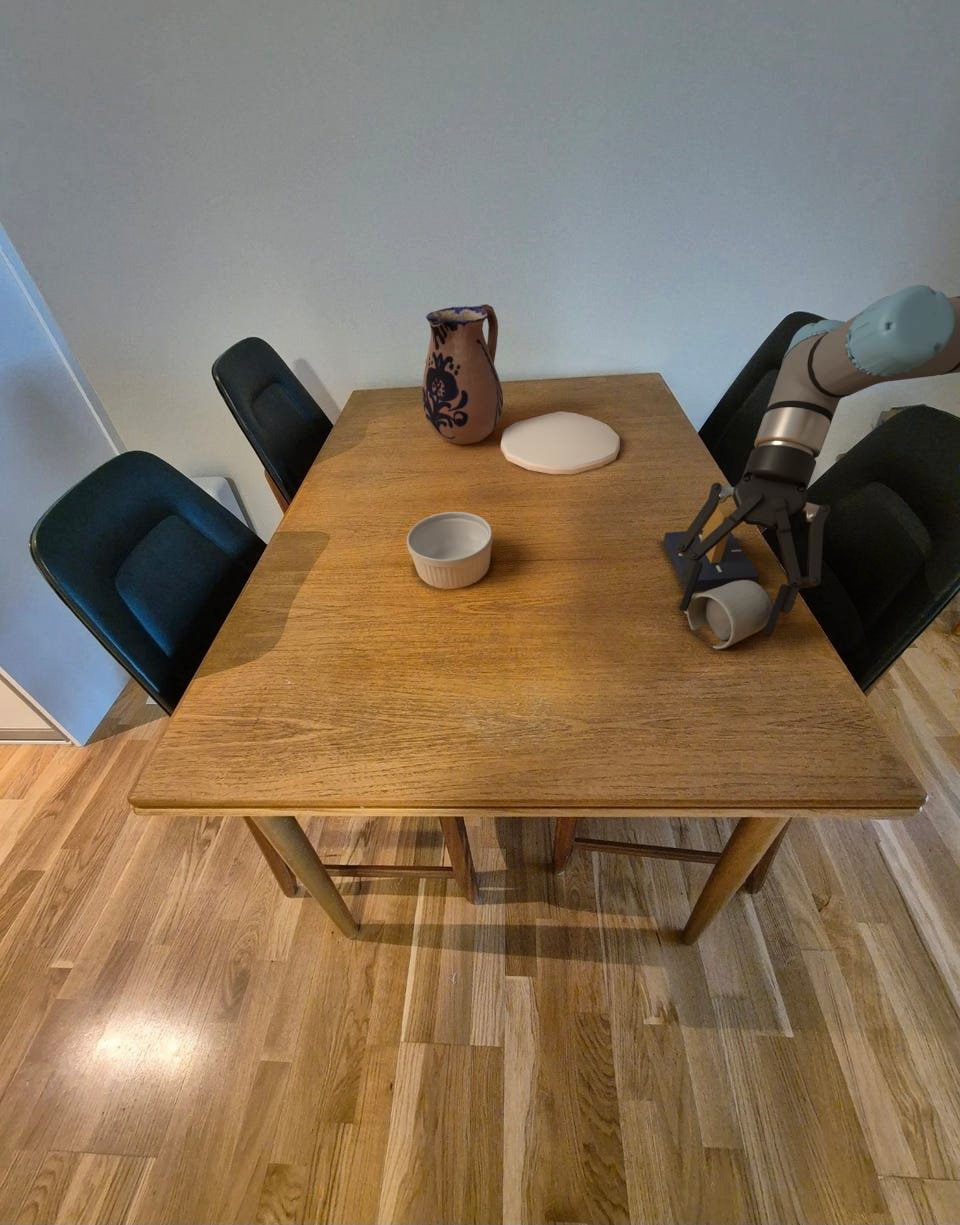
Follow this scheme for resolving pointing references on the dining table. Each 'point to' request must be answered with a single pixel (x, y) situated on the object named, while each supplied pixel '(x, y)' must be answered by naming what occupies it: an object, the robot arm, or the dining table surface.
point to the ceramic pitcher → (462, 374)
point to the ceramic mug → (731, 610)
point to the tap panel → (712, 574)
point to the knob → (714, 521)
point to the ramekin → (451, 549)
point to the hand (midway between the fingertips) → (723, 622)
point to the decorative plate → (560, 443)
